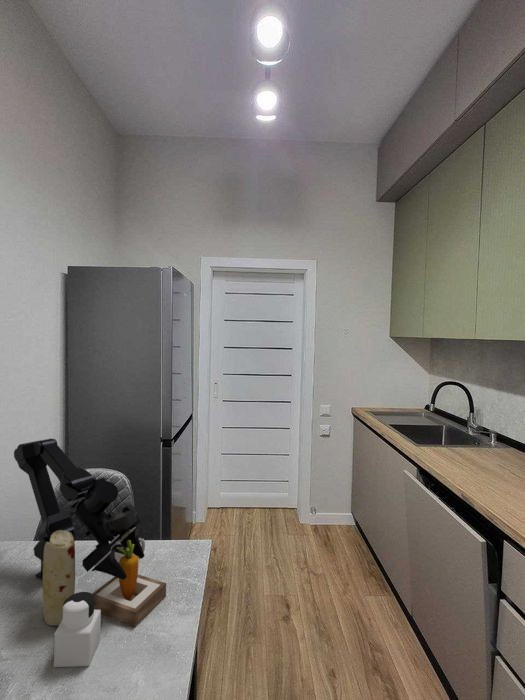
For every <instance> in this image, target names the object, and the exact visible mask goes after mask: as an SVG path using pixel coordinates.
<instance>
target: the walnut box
mask: <svg viewBox="0 0 525 700" xmlns="http://www.w3.org/2000/svg"><path fill="white" fill-rule="evenodd" d="M137 577H138V578H141V579H144V580H147V581H151V582H154V583H157V584H160V586H159V587H157V588H156V589H155V590H154V591H153V592H152V593H151V594H150V595H149V596H148V597H147V598H146V599H145V600H144V601H143V602H142V603H140V604H139V605H138V606H137V607H136V608H132V607H129V606H126V605H124V604H121V603H118V602H115V601H112V600H109V599H106V598H104V597H101V596H98V595H96V594H98V593H99V592H100V591H101V590H103V589H104V588H105V587H107V586H108V585H109V584H110V583H112V582H113V581H114V580H116V579H117V577H115V576H112V578H111V579H110V580H108V581H107V582H105V583H104V584H103V585H102V586H101V587H99V588H98V589H97V590H95V591H94V592H93V593H91V594H92V595H93V596H94V610H101V616H103V617H106V618H110V619H113V620H115V621H117V622H120V623H123V624H126V625H128V626H131V627H134V628H137V626H138V625H139V624H140V623H141V622H142V621H143V620H144V619H145V618H146V617H147V616H149V614H150V613H151V612H152V611H153V610H154V609H155V608H156V607H157V606H158V605H159V604H160V603H161V602H162V601H163V600H164V599H165V598H166V597H167V582H165V581H164V582H163V581H161V580H158V579H154V578H152V577H148V576H145V575H141V574H138V576H137ZM137 595H138V594H137V593H133V596H132V597H131V599H130V600H129V601H132V600H133V599H134V598H135V597H136V596H137ZM120 598H122V599H125V598H124V596H123V594H122V595H121V596H120Z"/></svg>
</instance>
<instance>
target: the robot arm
mask: <svg viewBox="0 0 525 700" xmlns="http://www.w3.org/2000/svg"><path fill="white" fill-rule="evenodd" d="M13 456H14V457H13V458H14V460H15V461H16V463H17V466H18V468H19V469H20V470H22V471H23V472H24V473H25V474H27V475H28V478H29V481H30V485H31V489H32V492H33V494H34V498H35V502H36V505H37V508H38V511H39V515H40V518H41V522H42V524H41V527H40V530H39V532H38V533H39V534H38V537H39V541H38V542H37V543H36V544H35V546H34V547H33V553H34V556H35V557H36V558H37V559H39V560H40V571H39V572H37V573H36V574H35V578H37V579H41V580H43V560H44V546H45V544H46V542H50V538H51V535H52V534H53V533H54V532H55V531H58V530H65V531H69V532H70V533H71V534H72V535H73V537H74V543H76V538H77V532H76V529H75V527H74V524H73V521H72V518H73V517H74V516H75V517H76V518H77V519H78V520H79V521H80V523H81V524H82V525H83V527H84V528H85V529H86V530H87V531H86V532H85V533H84V534H85V536H86V537H89V536H91V537H92V538H93V539H94V540H95V541H96V543H97V544H96V545H95V548H94V549H93V550H92V551H91V552H90V553H89V554H88V555H87V556H86V557H84V558H83V559H82V562H81V563H82V565H81V566H82V567H83V568H84V570H85V571H86V572H89V571H90V570H91V571H92V572H95V571H97V572H101V573H103V574H107V575H110V576H112V577H117V578H120V579H123V580H124V579H125V578H126V577H127V575H126V573H125V572H124V570H123V569H122V567H121V566H120V565H119V563H118V562H117V560H116V559H115V550H113V551H112V552H110V551H111V547H112V546H113V545H114V544H115V543H116V542H117V541H118V540H119V539H120V540H121V539H123V540H122V541H121V542H120V543H121V544H122V545H123V546H125V547H126V548H127V547H128V545H127V541H128V540H131V545H132V544H134V549H133V552H132V553H134V554H135V555H136V556H138V559H139V558H140V559H141V560H142V559H143V558H145V553H144V552H145V551H144V552H143V549H142V545H141V542H140V541H139V538H140V537H139V529H140V526H141V525H140V524H139V523H140V522H141V520H140V519H139V517H138V516H137V513H138V510H137V509H136V508H135V507H134V506H133V505H132V504H131V503H130V504H126V505H125V506H124V507H123V508H122V511H120V513H118V514H115V513H114V512H113V511H110V512H107V511H106V510H107V509H108V508H109V506H111V505H112V504H113V503H114V502H115V501H116V500H117V498H118V496H119V489H118V486H116V485H115V484H114V482H111V481H108V480H106V479H105V477H100V478H95V477H94V476H93V475H92V474H91V473H90V472H89V471H88V470H86V469H85V468H81V467H79V466H76V464H74V462H72V460H71V459H70V458H69V457H68V456H67V455H66V454H65V452H64V450H63V449H62V448H61V447H60V446H59V445H58V441H57V439H56V438H47V439H42V440H41V439H40V440H35V441H29V442H26V443H25V442H24V443H20V444H18V446H17V448H15V449H14V451H13ZM48 467H49V469H50V470H51V471H52V473H53V474H54V476H56V478H57V479H58V481H59V482H60V483H59V491H60V492H61V496H62V497H63V498H64V499H65V500H66V501H67V502H73V501H75V500H79V499H81V500H79V501H76V502H74V503H73V504H72V505H70V512H69V516H65V515H63V514H62V512H61V509H60V506H59V503H58V500H57V496H56V493H55V490H54V486H53V483H52V481H51V480H52V479H51V477H50V473H49V471H48ZM71 517H72V518H71ZM114 536H115V538H114ZM93 567H94V568H93Z"/></svg>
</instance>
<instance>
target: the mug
mask: <svg viewBox="0 0 525 700" xmlns="http://www.w3.org/2000/svg"><path fill="white" fill-rule="evenodd" d="M114 538H115V536H114ZM138 538H139V541H140V544H141V547H142V549H143V552H145V547H146V541H145V539H144V538H141V537H138ZM122 540H123V539H121V540H120V539H119V540H118V541H117V542H116V543H115V544H114V545H113V546H112V547H111V551H110V552H112V551H113V550H115V559H116V560H117V562H118V563H119V561H120V558H121V557H123V556H125V555H124V554H123V553H122V552H120V551H119V549H124V550H126V547H125V546H123V545H122V544H121V543H120V542H121V541H122ZM132 554H134V553H132ZM134 555H135V554H134Z"/></svg>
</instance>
